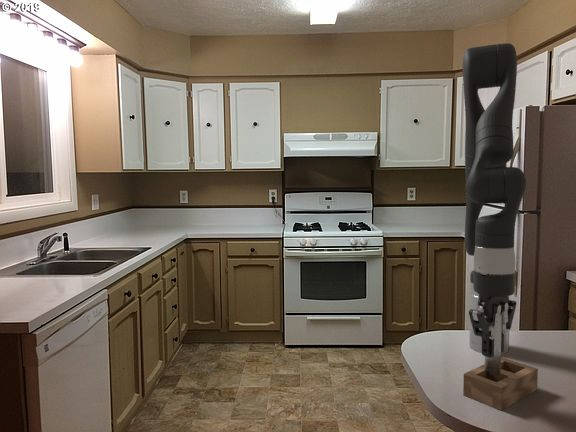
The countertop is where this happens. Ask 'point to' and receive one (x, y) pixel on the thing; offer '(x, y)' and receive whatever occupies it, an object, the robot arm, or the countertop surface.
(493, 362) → the peg
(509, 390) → the hole block
